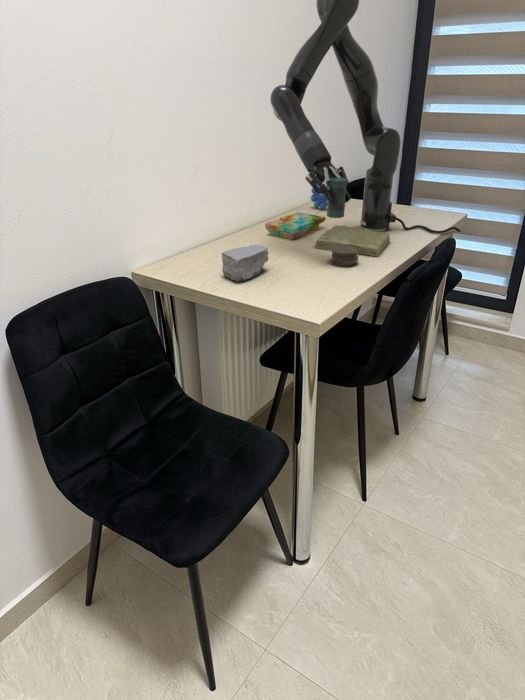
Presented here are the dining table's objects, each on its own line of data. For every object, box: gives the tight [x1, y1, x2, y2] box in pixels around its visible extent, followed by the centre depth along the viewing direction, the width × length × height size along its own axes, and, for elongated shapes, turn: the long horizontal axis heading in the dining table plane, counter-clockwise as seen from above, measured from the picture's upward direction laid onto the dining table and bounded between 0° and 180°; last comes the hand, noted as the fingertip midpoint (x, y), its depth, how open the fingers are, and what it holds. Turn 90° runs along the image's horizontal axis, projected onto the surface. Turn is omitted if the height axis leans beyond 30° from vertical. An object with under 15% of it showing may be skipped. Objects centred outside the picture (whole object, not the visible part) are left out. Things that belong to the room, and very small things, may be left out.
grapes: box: [310, 184, 328, 211], centre depth 205 cm, size 12×7×12 cm, turn 49°
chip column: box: [326, 178, 348, 219], centre depth 144 cm, size 5×5×10 cm
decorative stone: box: [221, 244, 269, 283], centre depth 141 cm, size 15×7×10 cm
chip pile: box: [329, 246, 359, 268], centre depth 150 cm, size 8×8×4 cm
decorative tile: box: [315, 225, 391, 257], centre depth 166 cm, size 19×20×4 cm
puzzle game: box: [264, 211, 327, 240], centre depth 179 cm, size 12×5×20 cm
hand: (341, 202), depth 143 cm, fingers closed on chip column, 5 cm apart
